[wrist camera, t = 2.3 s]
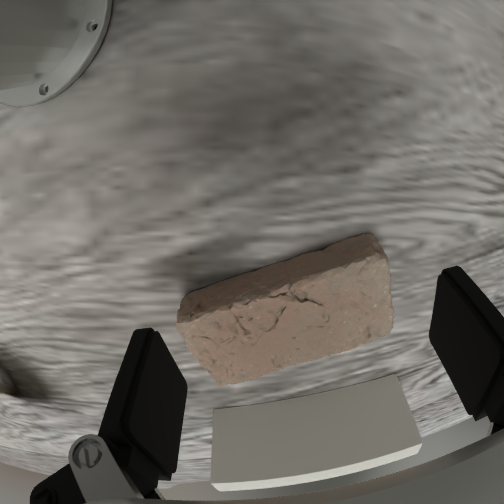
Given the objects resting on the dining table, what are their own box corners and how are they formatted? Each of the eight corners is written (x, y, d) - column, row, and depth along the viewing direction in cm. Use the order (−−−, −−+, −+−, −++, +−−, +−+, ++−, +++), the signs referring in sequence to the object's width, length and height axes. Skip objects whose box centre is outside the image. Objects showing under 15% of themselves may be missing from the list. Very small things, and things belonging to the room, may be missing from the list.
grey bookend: (213, 409, 35) (210, 483, 26) (395, 373, 33) (423, 442, 25) (230, 436, 39) (230, 500, 30) (389, 405, 37) (410, 466, 28)
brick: (371, 225, 24) (394, 255, 20) (383, 302, 28) (401, 336, 24) (178, 289, 27) (168, 326, 23) (218, 352, 31) (216, 390, 27)
